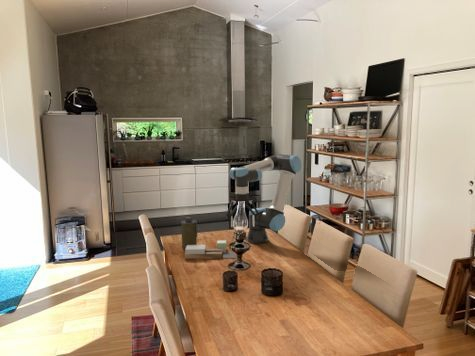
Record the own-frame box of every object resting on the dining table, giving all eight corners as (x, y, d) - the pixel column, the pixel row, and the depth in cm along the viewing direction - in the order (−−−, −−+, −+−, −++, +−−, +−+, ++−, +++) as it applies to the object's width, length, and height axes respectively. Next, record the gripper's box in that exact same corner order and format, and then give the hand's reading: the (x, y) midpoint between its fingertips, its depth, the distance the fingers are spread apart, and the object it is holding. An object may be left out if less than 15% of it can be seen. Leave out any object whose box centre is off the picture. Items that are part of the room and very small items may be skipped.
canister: (179, 247, 257) (178, 218, 254) (185, 243, 267) (184, 215, 264) (194, 249, 254) (193, 220, 251) (200, 244, 264) (199, 216, 261)
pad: (223, 252, 246) (223, 252, 246) (235, 252, 246) (235, 252, 246) (222, 258, 236) (222, 257, 236) (235, 258, 236) (235, 257, 236)
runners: (186, 253, 245) (186, 249, 244) (222, 253, 245) (222, 248, 245) (184, 258, 236) (184, 254, 236) (221, 258, 236) (221, 253, 236)
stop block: (217, 249, 254) (217, 240, 253) (226, 249, 254) (226, 240, 253) (216, 252, 248) (216, 243, 247) (226, 252, 248) (226, 243, 247)
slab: (187, 249, 244) (186, 244, 244) (205, 249, 245) (205, 244, 244) (185, 254, 236) (185, 249, 235) (204, 253, 236) (204, 249, 235)
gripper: (222, 194, 230) (223, 228, 233) (263, 193, 232) (263, 227, 235) (221, 192, 238) (222, 225, 241) (261, 191, 240) (261, 223, 243)
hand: (242, 226), depth 238 cm, fingers open, 13 cm apart
